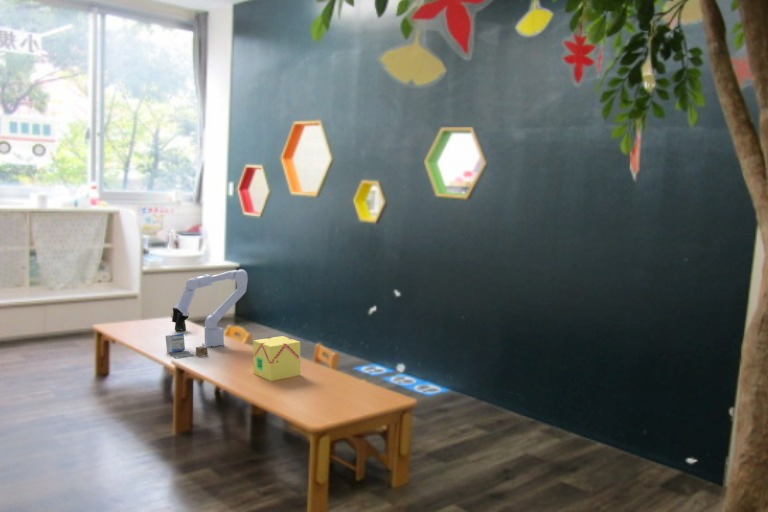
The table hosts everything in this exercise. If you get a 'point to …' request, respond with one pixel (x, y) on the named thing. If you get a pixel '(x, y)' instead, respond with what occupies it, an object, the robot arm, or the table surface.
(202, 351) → the walnut block
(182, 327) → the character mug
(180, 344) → the medicine box
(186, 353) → the mat
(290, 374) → the toy block
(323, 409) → the table surface
